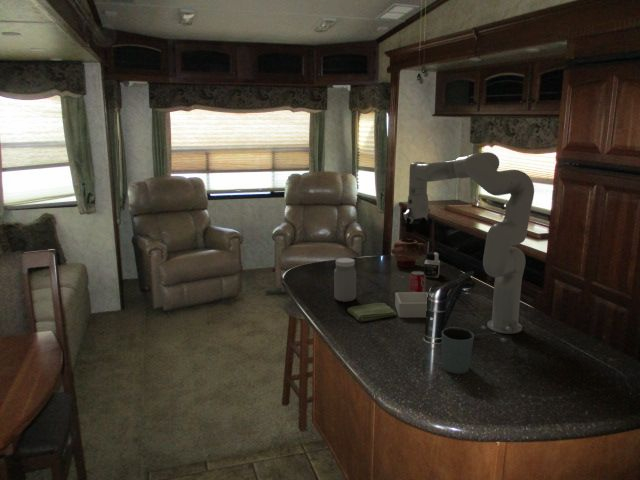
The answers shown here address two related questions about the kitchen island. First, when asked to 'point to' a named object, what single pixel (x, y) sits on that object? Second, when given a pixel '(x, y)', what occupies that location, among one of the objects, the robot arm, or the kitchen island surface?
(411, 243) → the decorative planter
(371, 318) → the washcloth
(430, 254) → the medicine bottle
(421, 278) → the soda can
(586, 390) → the kitchen island surface
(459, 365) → the grey teal cup
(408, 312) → the tote
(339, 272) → the jar
